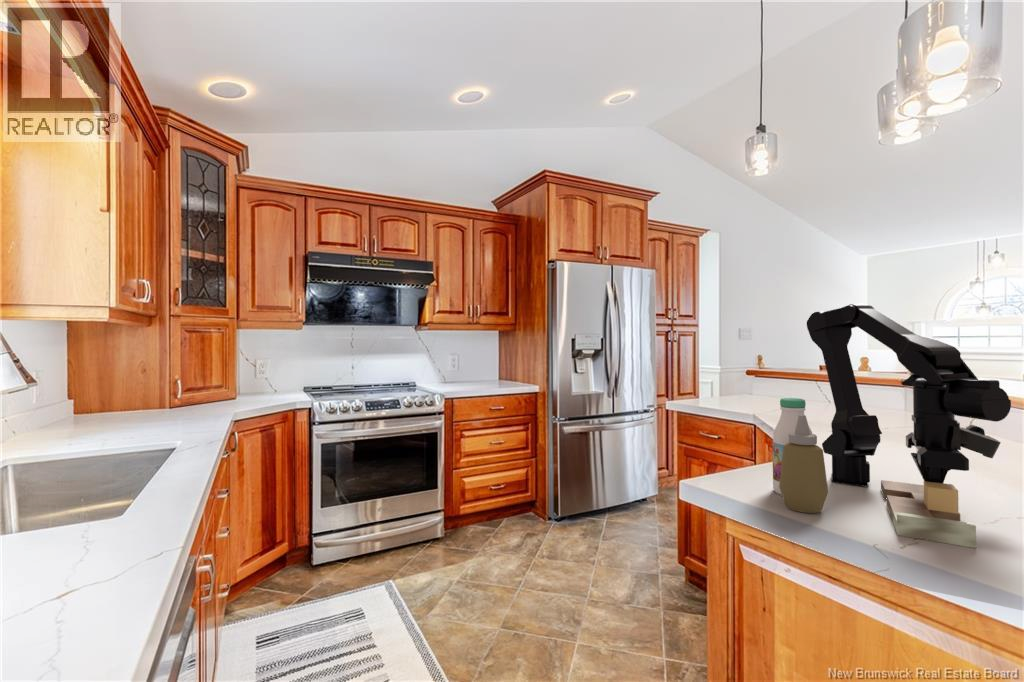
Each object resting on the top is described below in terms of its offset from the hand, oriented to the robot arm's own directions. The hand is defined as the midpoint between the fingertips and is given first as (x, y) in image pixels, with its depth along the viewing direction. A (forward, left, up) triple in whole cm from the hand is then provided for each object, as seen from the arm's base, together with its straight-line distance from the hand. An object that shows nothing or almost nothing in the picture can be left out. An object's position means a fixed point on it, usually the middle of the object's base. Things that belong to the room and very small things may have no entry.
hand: (934, 495), depth 88 cm
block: (0, -4, -1) cm, 4 cm away
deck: (-2, -2, -3) cm, 4 cm away
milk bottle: (-23, -1, -3) cm, 23 cm away
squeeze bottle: (-21, -10, -3) cm, 23 cm away
